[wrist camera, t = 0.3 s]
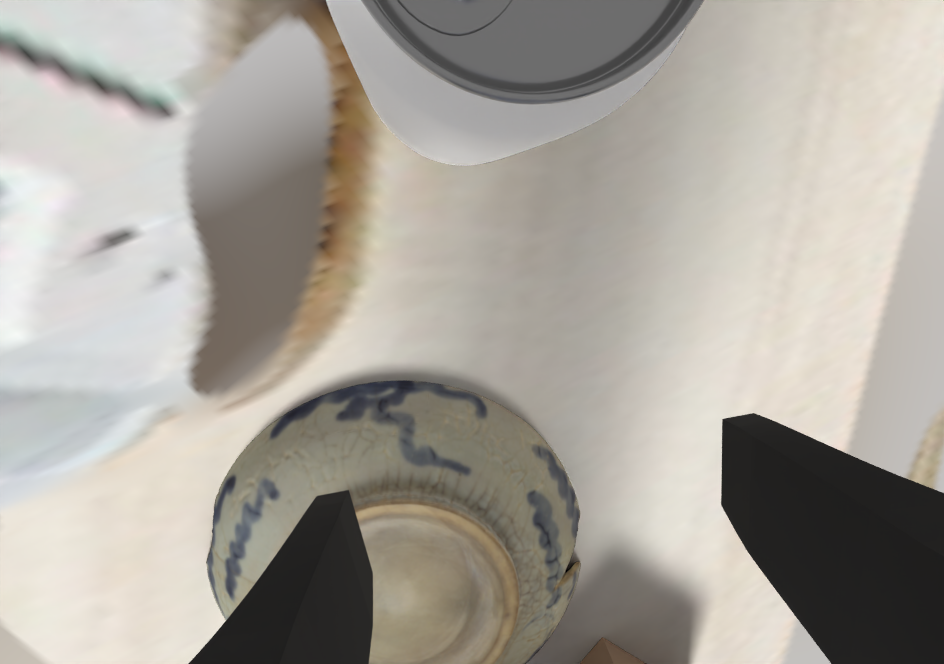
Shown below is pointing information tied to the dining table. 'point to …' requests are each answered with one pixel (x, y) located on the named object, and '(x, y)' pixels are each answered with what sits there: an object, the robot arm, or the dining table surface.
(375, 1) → the can
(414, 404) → the decorative bowl
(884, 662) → the robot arm
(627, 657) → the walnut block
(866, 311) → the dining table surface
